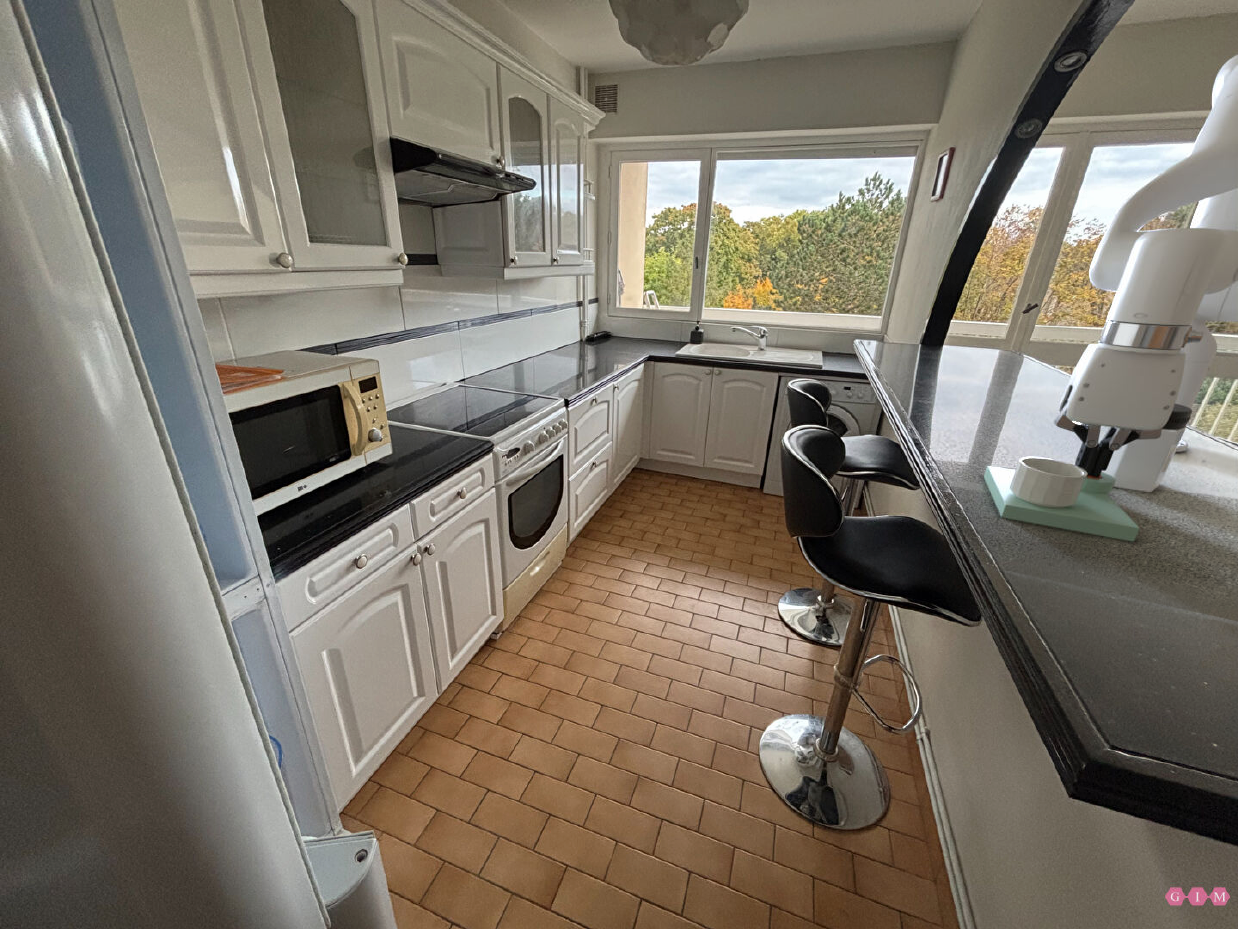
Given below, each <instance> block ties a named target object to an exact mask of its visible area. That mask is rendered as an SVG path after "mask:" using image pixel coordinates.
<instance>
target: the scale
mask: <svg viewBox="0 0 1238 929" xmlns="http://www.w3.org/2000/svg"><path fill="white" fill-rule="evenodd" d="M1015 470H1016V469H1012V468H1006V467H1005V468H1004V467H998V466H991V465H987V466H986V468H985V471H984V475H983V478H984V481H985V483H986V485H987V488H988V490H989V492H990V494H991V497H992V499H993V501H994V504H995V505H996V508H997V511H998V513H999V515H1000V518H1004V519H1009V520H1015V521H1019V522H1020V521H1021V522H1026V523H1031V524H1037V525H1042V526H1046V527H1047V526H1048V527H1053V528H1057V529H1063V530H1068V531H1075V532H1079V533H1085V534H1090V535H1096V536H1101V537H1107V538H1112V539H1117V540H1123V541H1129V542H1133V543H1134V542H1135V540H1136V539H1137V536H1138V533H1139V532H1140V529H1141V527H1139V525H1137V523H1135V521H1134V520H1133V519H1132V518H1131V517H1130V516H1129V515H1128V513H1127V512H1126V511H1125V510H1123V509H1122V508H1121V506H1120V505H1119V504H1118V502H1116V500H1114V499H1113V498H1112V497H1111V496H1110V495H1109V494H1108V493H1110V492H1112V490H1113V489H1114V487H1113V486H1114V484H1115V481H1116V480H1115V479H1114V478H1113V477H1112V476H1111V475H1108V474H1106V473H1103V472H1101V474H1100V475H1101V478H1100V479H1093V478H1087V477H1086V479H1085V482H1084V484H1083V487H1082V490H1081V492H1080V495H1079V497H1078V500H1077V502H1076V504H1075V505H1072V506H1067V507H1063V508H1052V507H1045V506H1040V505H1036V504H1033V503H1030V502H1027V501H1025V500H1023V499H1021V498H1019V497H1017V496H1016V495H1015V493H1013V492H1012V491H1011V489H1010V485H1011V482H1012V479H1013V476H1014V473H1015Z"/></svg>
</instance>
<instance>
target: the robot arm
mask: <svg viewBox="0 0 1238 929" xmlns="http://www.w3.org/2000/svg"><path fill="white" fill-rule="evenodd" d="M1211 106H1212V108H1211V110H1210V112H1209V114H1208V116H1207V118H1206V119H1205V122H1204V124H1203V126H1202V128H1201V130H1200V131H1199V134H1198V135H1197V137H1196V140H1195V142H1194V144H1193V146H1192V148H1191V150H1190V153H1189V155H1188V156H1187V157H1185V158H1184V159H1182V160H1180V161H1179V162H1176V163H1175V164H1173V165H1172V166H1170V167H1168V168H1167V169H1165V170H1163V171H1162V172H1160V173H1159V174H1157V175H1156V176H1154V177H1153V178H1152V179H1151V180H1149V181H1147V183H1145V184H1144V185H1142V186H1141V187H1140V188H1138V189H1137V190H1136V191H1135V192H1133V193H1132V194H1131V195H1130V196H1129V197H1128V198H1127V199H1126V200H1125V201H1124V202H1123V203H1122V204H1121V206H1120V207H1119V208H1118V209H1117V211H1116V212H1115V213H1114V215H1113V217H1112V219H1111V221H1110V222H1109V225H1108V226H1107V228H1106V229H1105V230H1106V231H1105V232H1104V234H1103V237H1102V238H1101V240H1100V242H1099V244H1098V246H1097V249H1096V250H1095V252H1094V256H1093V257H1092V260H1091V262H1090V266H1089V271H1088V272H1089V273H1088V274H1089V275H1088V276H1089V281H1090V283H1091V284H1092V286H1094V287H1095V288H1097V289H1099V290H1102V291H1106V292H1116V293H1115V295H1114V298H1113V301H1112V304H1111V307H1110V309H1109V312H1108V315H1107V317H1106V320H1105V322H1104V325H1103V328H1102V331H1101V333H1100V336H1099V339H1098V341H1097V344H1094V343H1093V344H1088V345H1087V347H1086V348H1085V349H1084V351H1083V353H1082V355H1081V356H1080V358H1079V360H1078V361H1077V363H1076V364H1075V365H1076V366H1075V367H1074V369H1073V372H1072V373H1071V376H1070V377H1069V380H1068V382H1067V384H1066V386H1065V388H1064V391H1063V393H1062V396H1061V398H1060V401H1059V404H1058V411H1059V413H1058V414H1057V416H1056V417H1055V419H1054V420H1053V423H1054V424H1053V425H1055V426H1056V427H1058V428H1060V429H1063V430H1065V431H1069V432H1072V433H1074V434H1075V435H1076V436H1077V437H1078V439H1079V440H1080V441H1081V442H1082V443H1081V445H1080V448H1079V451H1078V453H1077V456H1076V458H1075V461H1074V465H1075V466H1078V467H1080V468H1082V469H1084V470H1085V471H1086V472H1087V473H1088V474H1087V476H1089V475H1091V476H1093V477H1097V478H1099V477H1100V474H1101V472H1102V471H1105V470H1106V469H1107V467H1108V465H1109V462H1110V460H1111V458H1112V455H1113V453H1114V451H1116V450H1119V449H1120V448H1121V446H1124V445H1126V444H1128V443H1130V442H1132V441H1134V440H1146V439H1158V438H1159V437H1160V436H1161V430H1162V427H1164V426H1165V424H1166V423H1167V421H1168V419H1169V417H1170V415H1171V412H1172V410H1173V407H1174V404H1179V405H1183V406H1186V407H1188V408H1190V409H1192V408H1193V407H1194V406H1193V405H1194V404H1195V402H1196V399H1197V397H1198V394H1199V392H1200V390H1201V388H1202V386H1203V384H1204V381H1205V379H1206V378H1207V375H1208V373H1209V371H1210V369H1211V366H1212V364H1213V362H1214V360H1215V358H1216V355H1217V352H1218V342H1217V340H1216V339H1215V336H1214V335H1213V334H1212V332H1211V331H1210V330H1209V328H1208V327H1207V325H1206V322H1229V323H1230V322H1231V323H1238V54H1236V55H1234V56H1233V57H1231V58H1230V59H1228V60H1227V61H1226V62H1225V63H1223V65H1222V66H1221V68H1220V69H1219V71H1218V73H1217V74H1216V77H1215V80H1214V83H1213V87H1212V95H1211ZM1197 202H1198V204H1197V206H1196V209H1195V212H1194V215H1193V218H1192V220H1191V224H1190V226H1189V227H1181V228H1180V227H1179V228H1177V227H1175V228H1160V229H1154V230H1141V229H1142V228H1143V227H1144V226H1145V225H1147V224H1149V223H1150V222H1151V221H1153V220H1154V219H1156V218H1158V217H1161V216H1162V215H1164V214H1167V213H1169V212H1172V211H1174V210H1176V209H1179V208H1182V207H1185V206H1187V205H1191V204H1195V203H1197ZM1101 426H1107V427H1110V428H1109V429H1108V431H1107V432H1106V434H1105V436H1104V437H1103V439H1102V441H1100V443H1098V441H1099V435H1100V430H1101ZM1188 446H1189V443H1188V442H1187V441H1186V440H1184V439H1183V438H1181V440H1180V442H1179V444H1178V446H1177V449H1176V452H1175V453H1181V452H1184V451H1186V450H1187V448H1188Z"/></svg>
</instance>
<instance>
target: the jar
mask: <svg viewBox="0 0 1238 929" xmlns="http://www.w3.org/2000/svg"><path fill="white" fill-rule="evenodd" d="M1192 413H1193V409H1192V408H1191V409H1190V408H1188V407H1186V406H1183V405H1179V404H1174V407H1173V410H1172V412H1171V415H1170V417H1169V419H1168V421H1167V423H1166V424H1165V426H1164V427H1162V430H1161V436H1160V437H1159V438H1158V439H1146V440H1134V441H1132V442H1130V443H1128V444H1126V445H1124V446H1121V448H1120V449H1119V450H1116V451H1114V453H1113V455H1112V458H1111V460H1110V462H1109V465H1108V467H1107V469H1106V470H1105V471H1102V472H1103V473H1106V474H1108V475H1111V476H1112V477H1113V478H1114V479H1115V480H1116V481H1115V484H1114V486H1113V488H1118V489H1124V490H1130V491H1131V490H1132V491H1136V492H1137V491H1138V492H1144V493H1152V492H1153V491H1154V490H1155V489H1157V488H1158V487H1160V486H1161V483H1162V481H1163V479H1164V477H1165V475H1166V472H1167V470H1168V468H1169V466H1170V464H1171V462H1172V460H1173V458H1174V456H1175V454H1176V453H1177V452H1176V449H1177V446H1178V444H1179V442H1180V440H1181V439H1183V436H1184V434H1185V431H1186V429H1187V425H1188V423H1189V422H1190V419H1191V418H1192V417H1191V415H1192ZM1109 428H1110V427H1107V426H1101V430H1100V435H1099V441H1098V443H1100V441H1102V439H1103V437H1104V436H1105V434H1106V432H1107V431H1108V429H1109Z"/></svg>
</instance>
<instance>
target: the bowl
mask: <svg viewBox="0 0 1238 929" xmlns="http://www.w3.org/2000/svg"><path fill="white" fill-rule="evenodd" d="M1014 470H1015V473H1014V476H1013V479H1012V482H1011V485H1010V489H1011V491H1012V492H1013V493H1015V495H1016V496H1017V497H1019V498H1021V499H1023V500H1025V501H1027V502H1030V503H1033V504H1036V505H1040V506H1045V507H1052V508H1063V507H1067V506H1072V505H1075V504H1076V502H1077V500H1078V497H1079V495H1080V492H1081V490H1082V487H1083V484H1084V482H1085V479H1086V477H1087V474H1088V473H1087V472H1086V471H1085V470H1084V469H1082V468H1080V467H1078V466H1075V464H1073V463H1069V462H1066V461H1062V460H1058V459H1054V458H1048V457H1041V456H1040V457H1039V456H1026V457H1021V458H1020V459H1018V461H1017V463H1016V467H1015V469H1014Z"/></svg>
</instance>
